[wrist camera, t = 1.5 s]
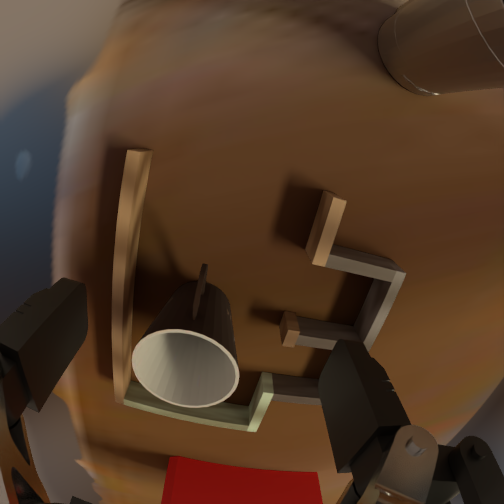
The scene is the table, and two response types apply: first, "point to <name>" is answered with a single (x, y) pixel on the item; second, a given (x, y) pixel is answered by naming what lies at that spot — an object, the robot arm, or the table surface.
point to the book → (236, 484)
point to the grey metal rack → (290, 326)
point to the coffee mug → (190, 348)
